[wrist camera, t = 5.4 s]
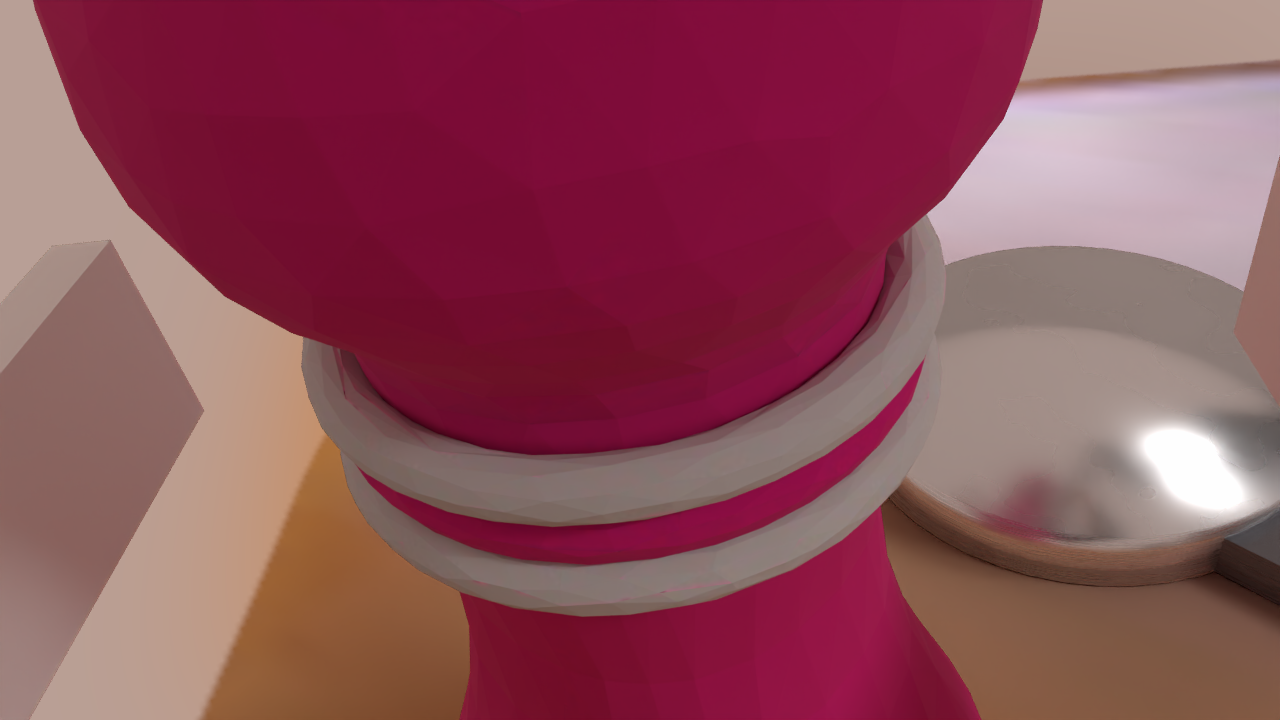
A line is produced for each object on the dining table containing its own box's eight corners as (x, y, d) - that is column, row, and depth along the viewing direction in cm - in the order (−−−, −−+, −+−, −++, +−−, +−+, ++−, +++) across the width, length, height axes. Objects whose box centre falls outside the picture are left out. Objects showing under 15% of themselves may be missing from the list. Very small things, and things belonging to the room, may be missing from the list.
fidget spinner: (586, 326, 30) (572, 264, 29) (815, 180, 35) (813, 120, 33) (1671, 978, 15) (1752, 909, 13) (1835, 560, 19) (1908, 475, 18)
